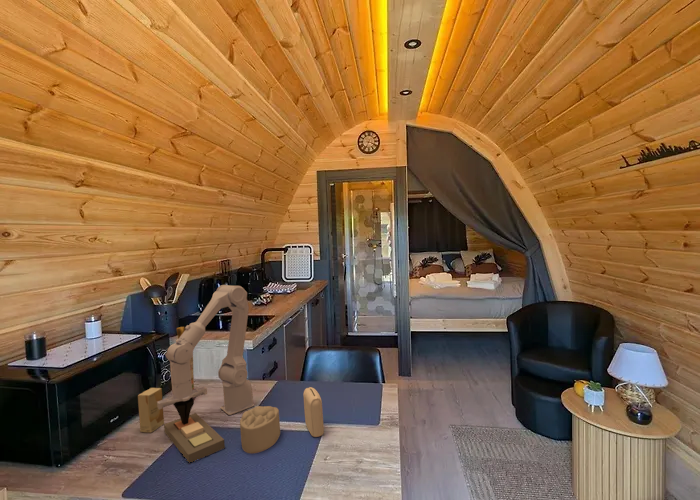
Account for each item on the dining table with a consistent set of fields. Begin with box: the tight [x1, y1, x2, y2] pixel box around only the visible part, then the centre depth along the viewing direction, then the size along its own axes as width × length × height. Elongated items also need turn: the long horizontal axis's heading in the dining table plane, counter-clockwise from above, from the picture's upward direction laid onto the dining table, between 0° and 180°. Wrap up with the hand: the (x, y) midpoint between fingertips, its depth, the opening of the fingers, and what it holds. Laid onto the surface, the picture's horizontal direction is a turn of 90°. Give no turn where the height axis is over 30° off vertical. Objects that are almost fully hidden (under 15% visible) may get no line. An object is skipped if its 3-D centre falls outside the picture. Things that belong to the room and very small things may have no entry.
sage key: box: [189, 433, 212, 448], centre depth 108 cm, size 5×5×2 cm
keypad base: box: [163, 412, 226, 464], centre depth 113 cm, size 10×24×2 cm, turn 41°
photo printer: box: [302, 386, 325, 438], centre depth 114 cm, size 10×4×12 cm, turn 20°
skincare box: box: [137, 387, 165, 433], centre depth 122 cm, size 6×4×12 cm
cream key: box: [181, 422, 204, 439], centre depth 113 cm, size 5×5×2 cm
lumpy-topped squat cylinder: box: [239, 405, 281, 454], centre depth 110 cm, size 10×13×9 cm
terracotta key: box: [174, 417, 196, 430], centre depth 118 cm, size 5×5×2 cm
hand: (185, 423), depth 118 cm, fingers closed, pressing on terracotta key
